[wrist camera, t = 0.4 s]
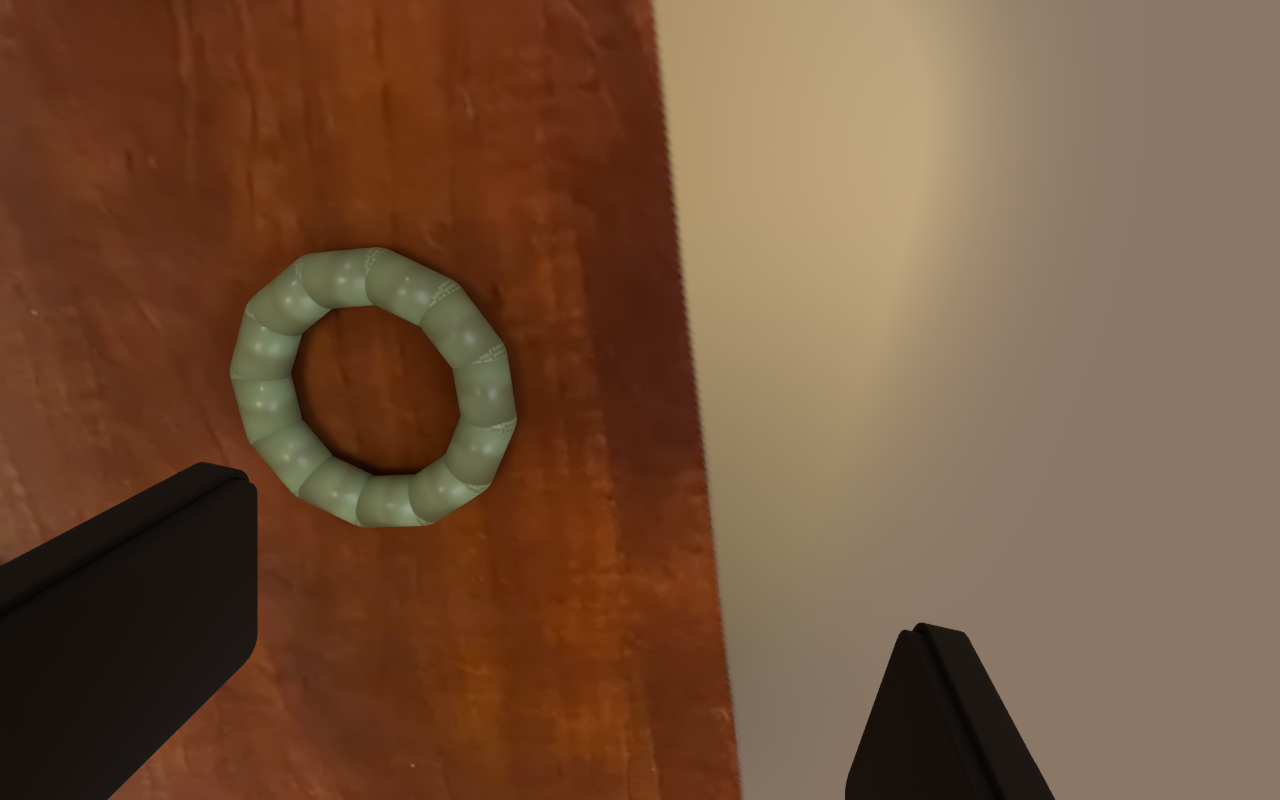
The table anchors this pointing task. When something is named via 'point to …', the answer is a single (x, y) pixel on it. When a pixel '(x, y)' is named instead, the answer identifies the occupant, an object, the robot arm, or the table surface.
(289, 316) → the ring
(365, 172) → the table surface
